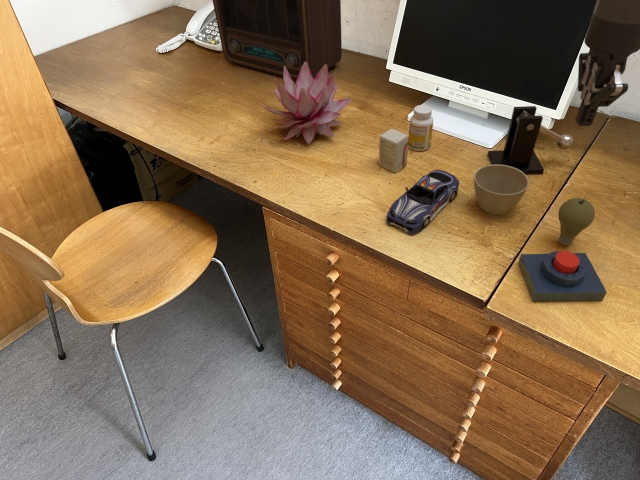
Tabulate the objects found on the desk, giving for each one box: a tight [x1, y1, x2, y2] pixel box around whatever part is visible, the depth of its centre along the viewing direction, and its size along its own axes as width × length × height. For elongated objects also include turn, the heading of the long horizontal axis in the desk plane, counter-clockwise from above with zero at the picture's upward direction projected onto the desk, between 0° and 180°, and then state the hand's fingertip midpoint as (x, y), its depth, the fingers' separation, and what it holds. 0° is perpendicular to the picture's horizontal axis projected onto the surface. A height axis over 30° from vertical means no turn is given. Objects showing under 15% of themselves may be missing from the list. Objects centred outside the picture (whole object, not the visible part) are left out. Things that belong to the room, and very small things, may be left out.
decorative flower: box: [260, 62, 353, 145], centre depth 117 cm, size 21×21×15 cm
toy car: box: [385, 169, 460, 235], centre depth 96 cm, size 8×18×5 cm, turn 139°
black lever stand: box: [487, 105, 545, 175], centre depth 102 cm, size 10×8×13 cm
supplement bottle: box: [408, 104, 434, 152], centre depth 111 cm, size 5×5×10 cm
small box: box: [378, 128, 409, 174], centre depth 106 cm, size 5×4×8 cm
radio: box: [212, 0, 343, 80], centre depth 143 cm, size 36×18×30 cm, turn 54°
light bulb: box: [557, 197, 596, 246], centre depth 84 cm, size 6×6×10 cm
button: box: [553, 250, 580, 274], centre depth 78 cm, size 4×4×2 cm
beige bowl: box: [473, 164, 530, 216], centre depth 93 cm, size 10×10×7 cm
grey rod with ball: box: [516, 110, 574, 150], centre depth 101 cm, size 14×3×3 cm, turn 89°
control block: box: [517, 250, 608, 303], centre depth 80 cm, size 11×9×4 cm
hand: (582, 123), depth 78 cm, fingers closed
